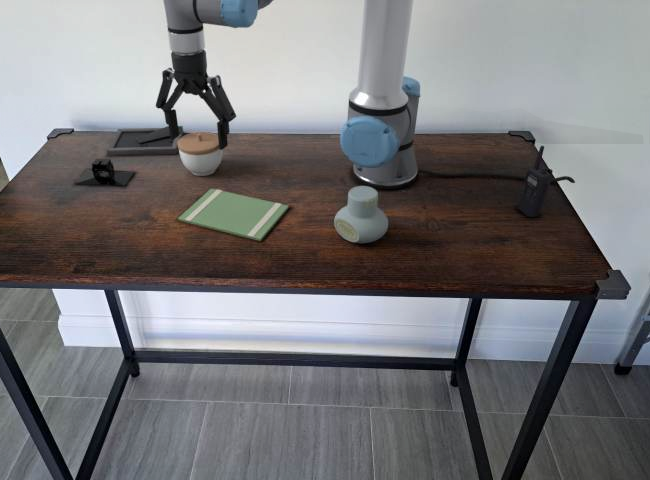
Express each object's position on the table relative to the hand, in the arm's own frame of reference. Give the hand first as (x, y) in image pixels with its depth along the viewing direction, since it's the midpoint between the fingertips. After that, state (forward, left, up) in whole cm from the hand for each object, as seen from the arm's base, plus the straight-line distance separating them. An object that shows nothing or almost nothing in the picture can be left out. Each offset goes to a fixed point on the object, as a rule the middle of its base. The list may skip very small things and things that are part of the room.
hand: (198, 142), depth 134 cm
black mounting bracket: (+20, +13, -8) cm, 25 cm away
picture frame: (+22, -7, -8) cm, 24 cm away
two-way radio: (-76, -11, -8) cm, 77 cm away
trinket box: (0, 0, -8) cm, 8 cm away
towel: (-17, +15, -7) cm, 24 cm away
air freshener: (-45, +12, -8) cm, 47 cm away
